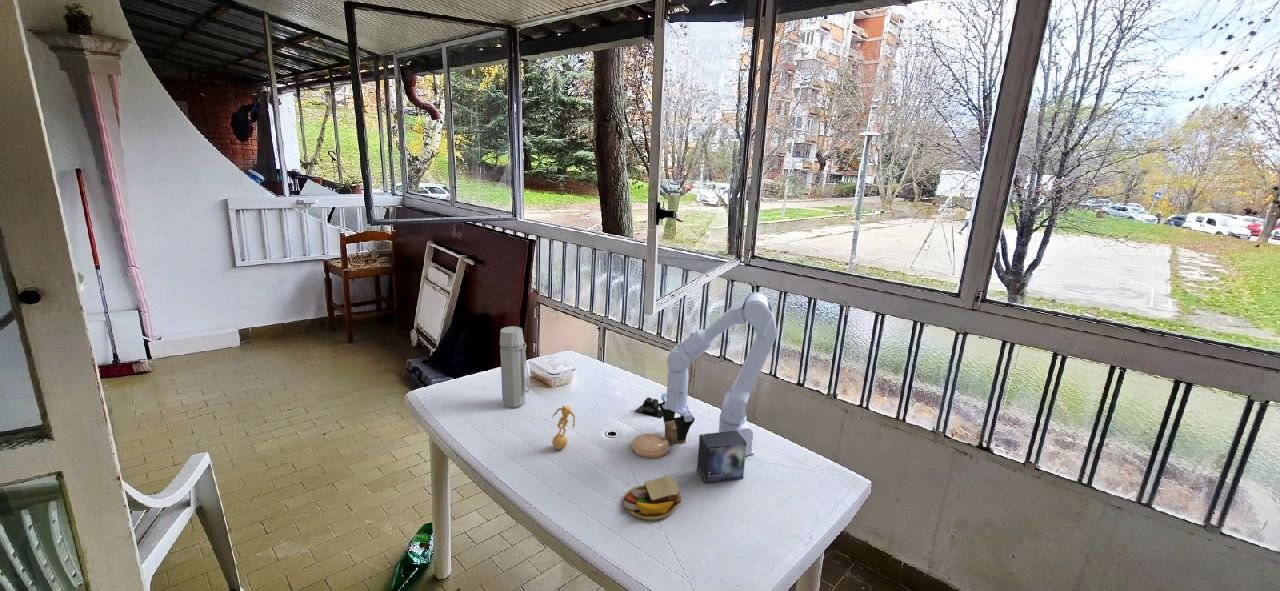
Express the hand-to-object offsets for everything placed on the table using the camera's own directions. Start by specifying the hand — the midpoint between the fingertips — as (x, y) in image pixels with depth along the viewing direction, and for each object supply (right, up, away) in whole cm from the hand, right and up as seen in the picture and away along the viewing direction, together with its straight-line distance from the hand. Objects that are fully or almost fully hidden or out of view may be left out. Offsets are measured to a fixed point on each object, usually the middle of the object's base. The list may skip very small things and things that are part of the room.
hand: (675, 433), depth 153 cm
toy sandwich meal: (-7, -10, -27) cm, 30 cm away
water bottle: (-49, +4, +19) cm, 53 cm away
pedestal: (-7, -3, -4) cm, 9 cm away
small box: (+10, -7, -16) cm, 20 cm away
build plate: (-7, +2, +17) cm, 18 cm away
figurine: (-31, -3, -4) cm, 32 cm away
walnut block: (0, -2, 0) cm, 2 cm away
